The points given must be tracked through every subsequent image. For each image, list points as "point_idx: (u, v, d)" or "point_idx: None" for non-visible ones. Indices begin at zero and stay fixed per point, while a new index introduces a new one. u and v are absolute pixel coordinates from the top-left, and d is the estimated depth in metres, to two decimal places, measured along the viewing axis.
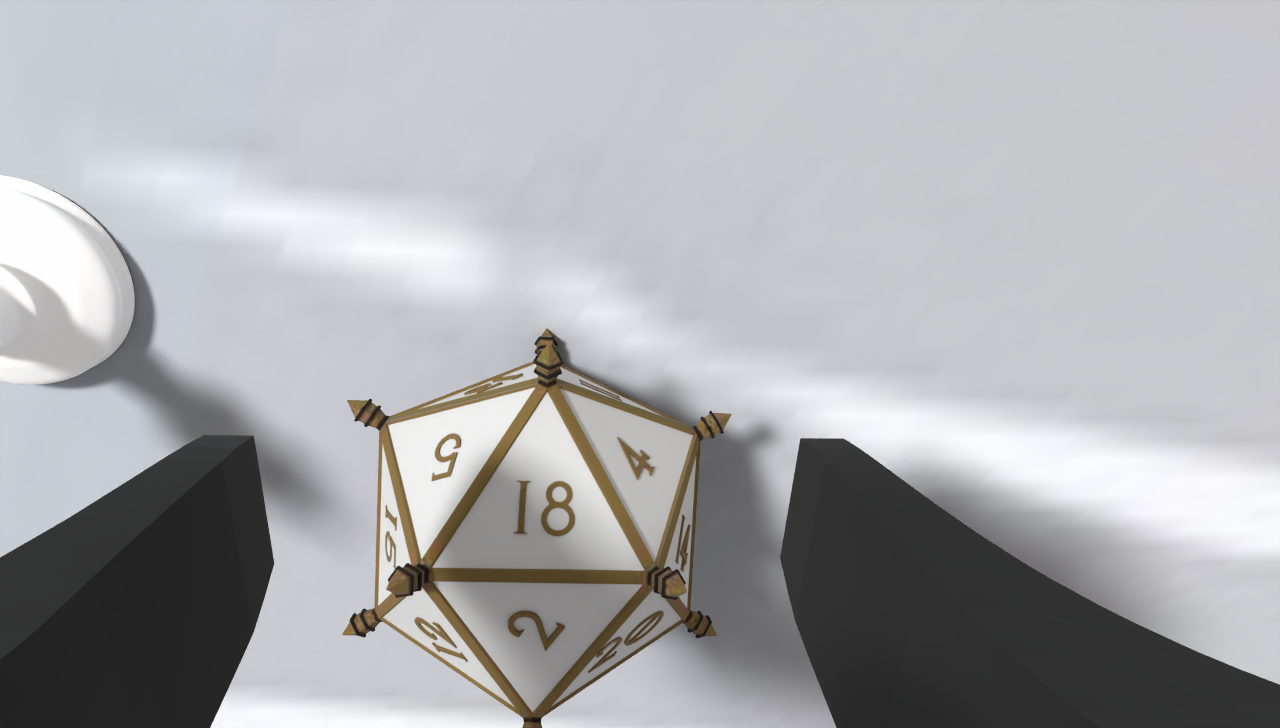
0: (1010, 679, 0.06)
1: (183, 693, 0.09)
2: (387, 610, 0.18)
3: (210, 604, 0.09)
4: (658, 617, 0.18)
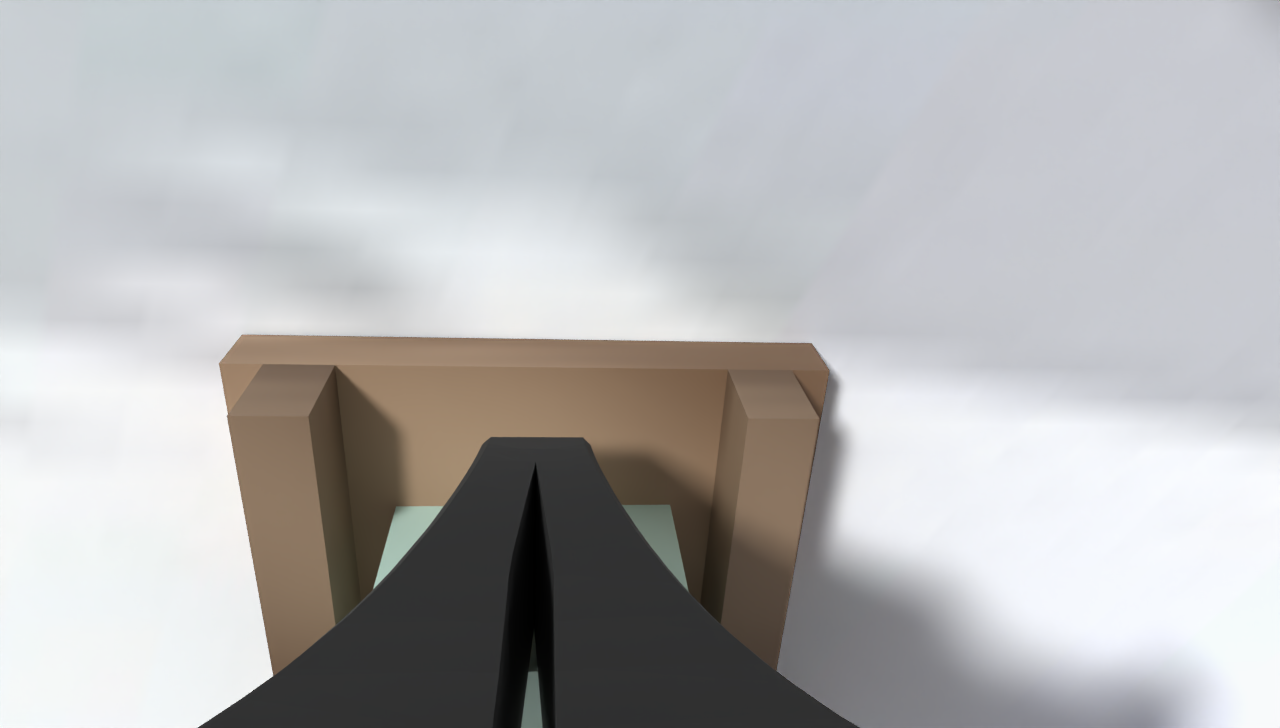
0: (554, 692, 0.06)
1: (519, 684, 0.09)
2: None
3: (527, 599, 0.10)
4: None
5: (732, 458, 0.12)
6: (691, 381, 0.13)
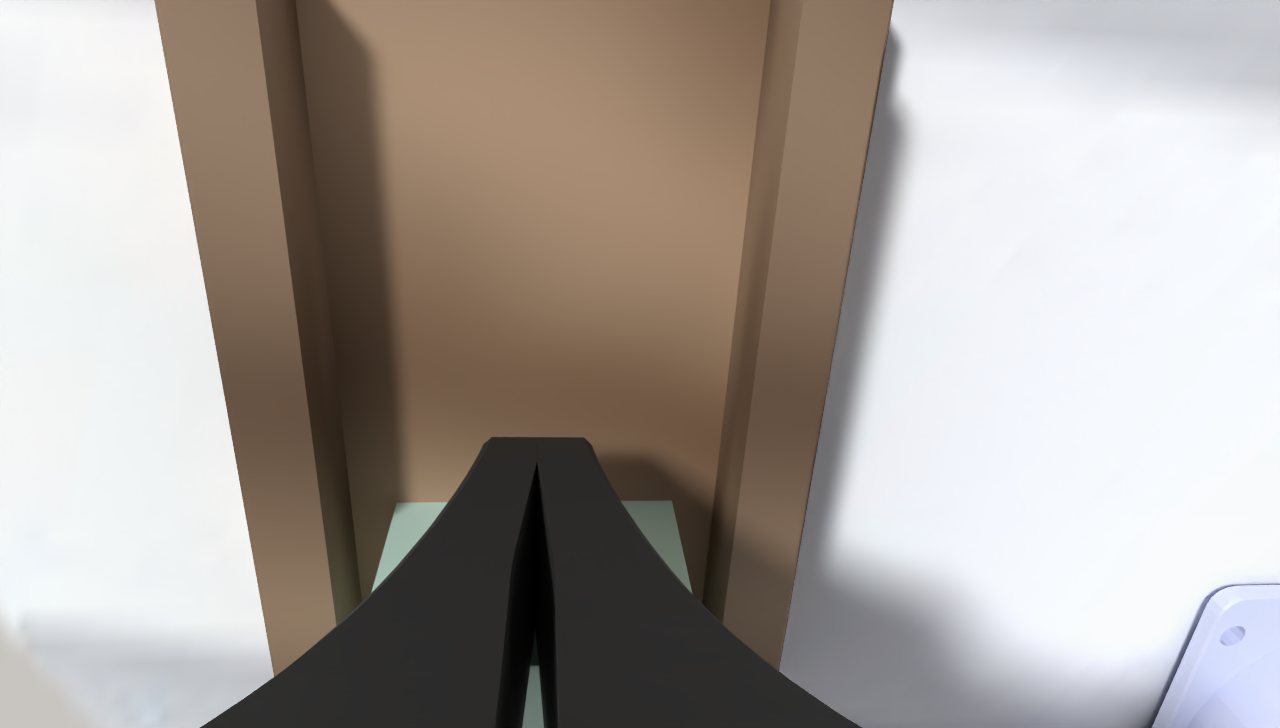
0: (557, 692, 0.06)
1: (520, 683, 0.09)
2: None
3: (528, 599, 0.10)
4: None
5: (780, 74, 0.10)
6: None
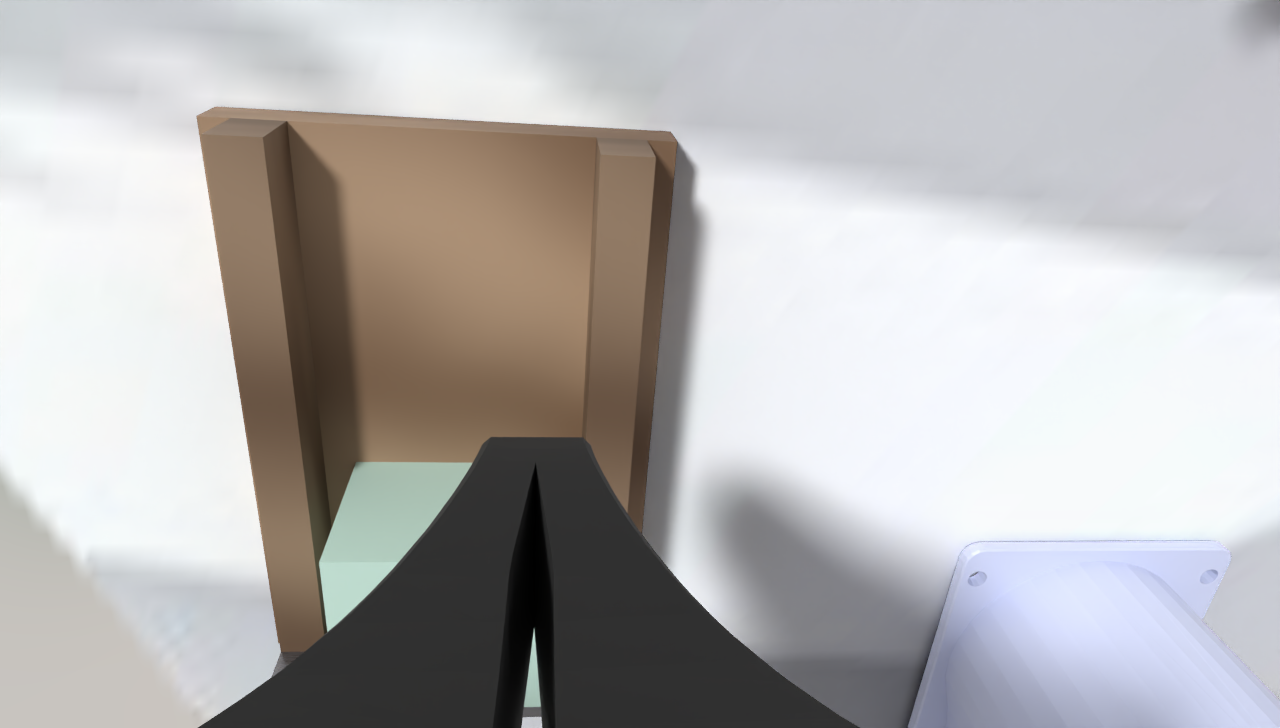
0: (554, 692, 0.06)
1: (519, 684, 0.09)
2: None
3: (527, 599, 0.10)
4: None
5: (596, 200, 0.16)
6: (568, 147, 0.16)
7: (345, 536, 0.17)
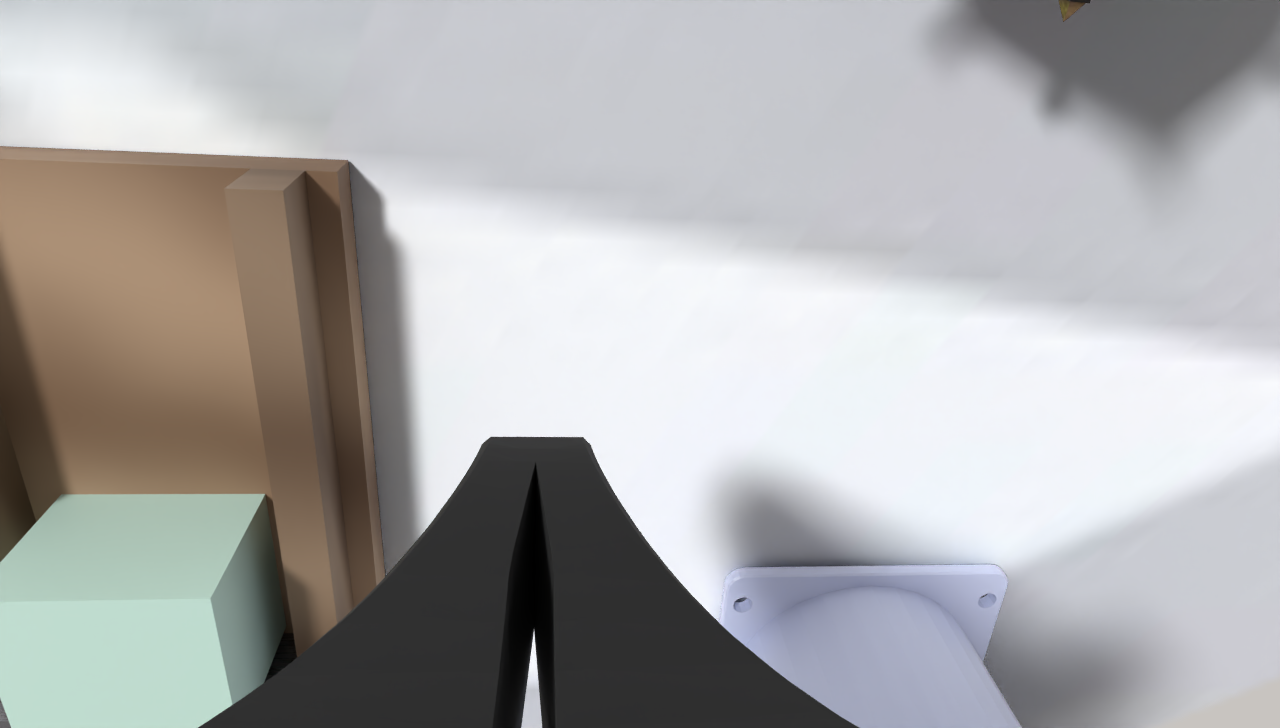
0: (554, 692, 0.06)
1: (519, 684, 0.09)
2: None
3: (527, 599, 0.10)
4: None
5: None
6: (223, 178, 0.16)
7: (7, 574, 0.17)
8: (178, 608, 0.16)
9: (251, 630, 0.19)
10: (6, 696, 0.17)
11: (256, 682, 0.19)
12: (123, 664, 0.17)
